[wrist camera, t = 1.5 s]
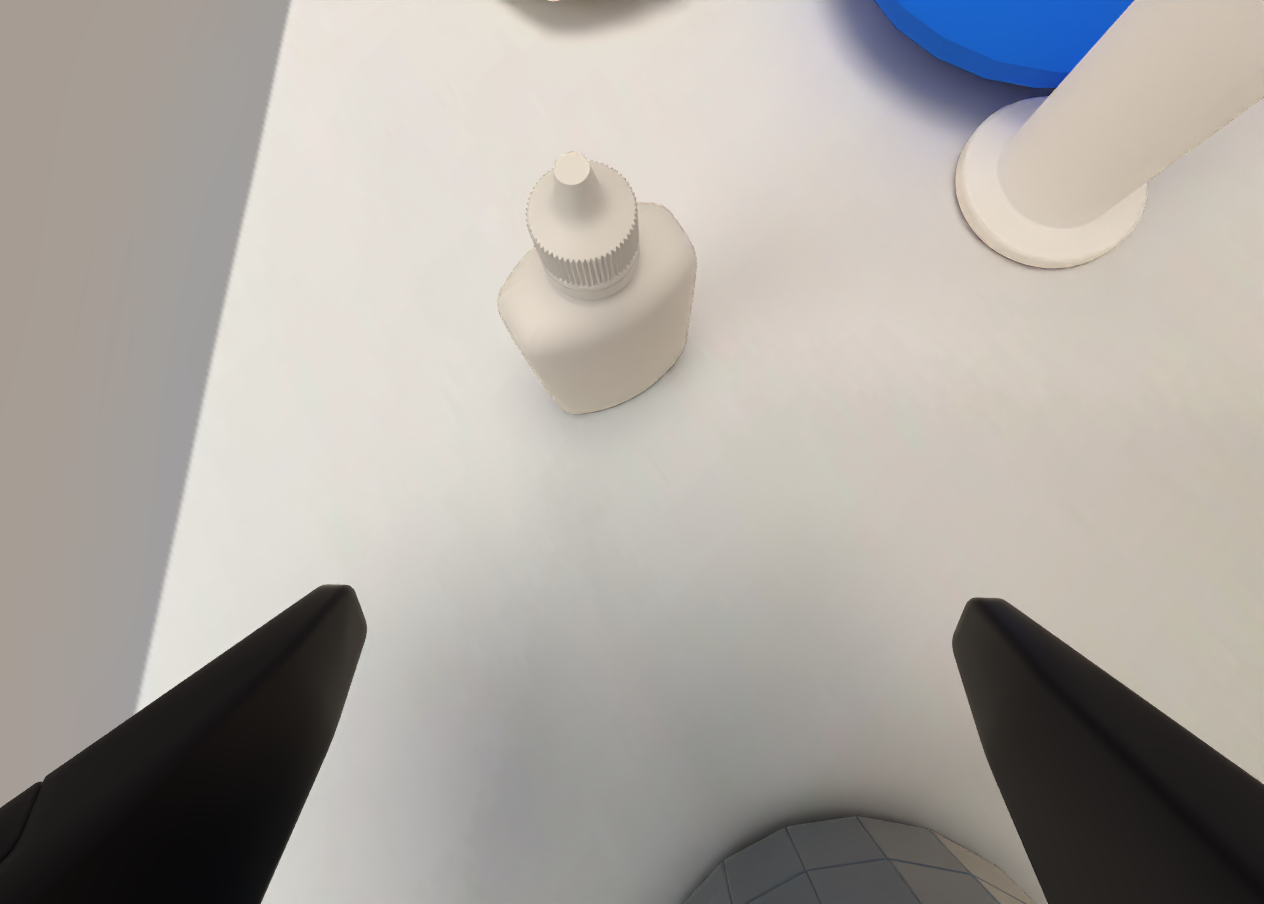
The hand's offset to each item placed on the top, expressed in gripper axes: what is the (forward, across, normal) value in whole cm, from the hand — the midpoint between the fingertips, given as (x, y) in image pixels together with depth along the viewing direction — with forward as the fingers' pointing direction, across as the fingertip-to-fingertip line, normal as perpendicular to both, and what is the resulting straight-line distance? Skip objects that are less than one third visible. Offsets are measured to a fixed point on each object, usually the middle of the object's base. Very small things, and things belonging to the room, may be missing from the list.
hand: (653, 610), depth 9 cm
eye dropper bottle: (+15, +2, +3) cm, 16 cm away
